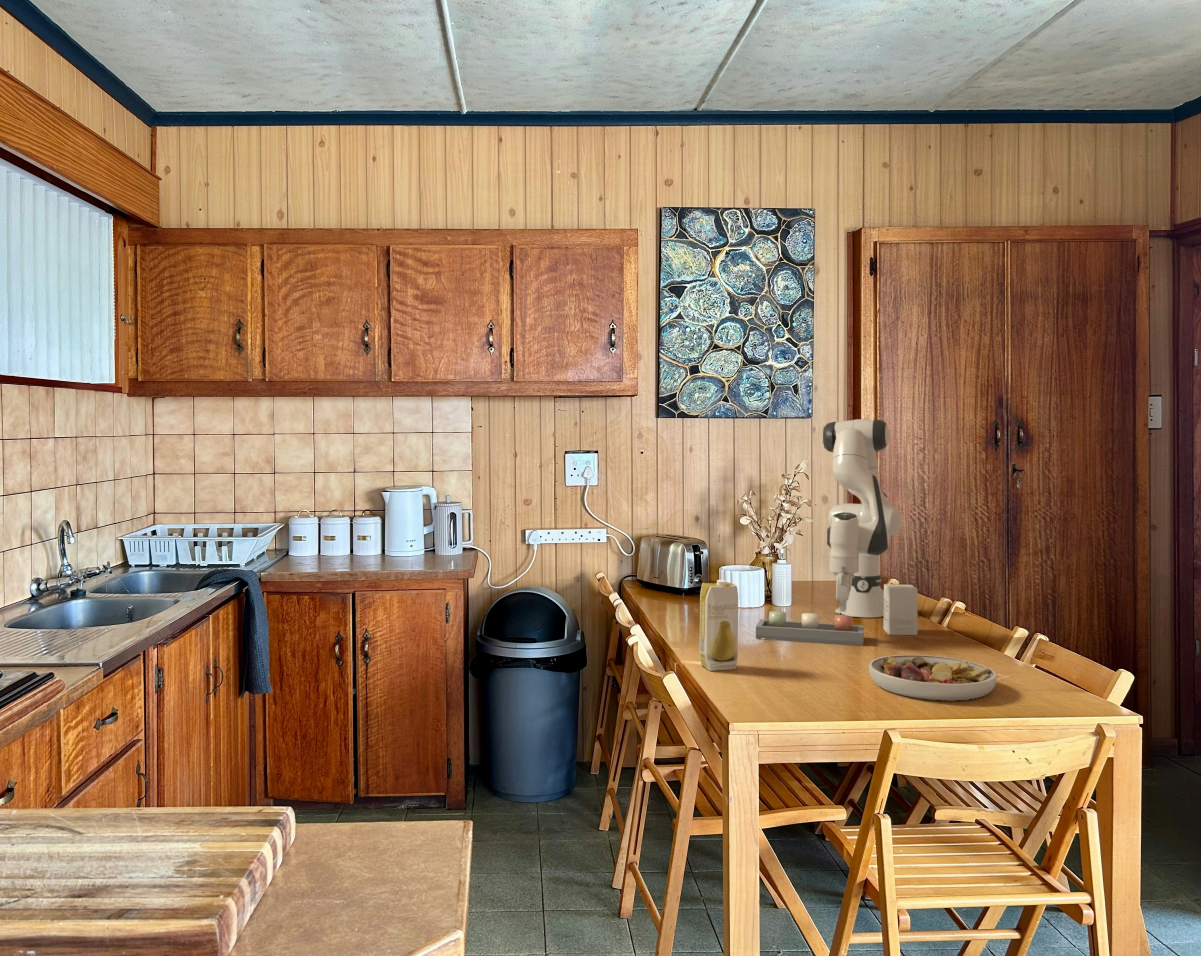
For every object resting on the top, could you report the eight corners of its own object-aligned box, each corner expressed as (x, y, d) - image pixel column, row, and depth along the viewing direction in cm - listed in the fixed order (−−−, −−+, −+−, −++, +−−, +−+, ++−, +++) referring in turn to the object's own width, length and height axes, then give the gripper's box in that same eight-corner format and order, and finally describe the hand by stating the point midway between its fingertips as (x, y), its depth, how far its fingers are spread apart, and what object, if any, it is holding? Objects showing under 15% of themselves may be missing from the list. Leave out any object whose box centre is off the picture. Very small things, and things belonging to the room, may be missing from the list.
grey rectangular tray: (760, 631, 301) (760, 619, 301) (863, 637, 292) (863, 625, 292) (755, 638, 290) (755, 626, 290) (863, 645, 281) (863, 633, 281)
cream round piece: (802, 625, 294) (802, 612, 294) (819, 626, 293) (819, 613, 293) (800, 628, 289) (801, 615, 289) (818, 629, 288) (818, 616, 288)
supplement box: (911, 629, 305) (912, 584, 304) (917, 635, 296) (918, 588, 295) (882, 629, 306) (883, 583, 305) (888, 634, 297) (889, 587, 296)
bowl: (895, 667, 256) (896, 638, 256) (1011, 686, 237) (1012, 655, 237) (848, 689, 233) (849, 658, 232) (972, 712, 214) (973, 678, 213)
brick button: (835, 627, 291) (835, 614, 291) (852, 628, 290) (852, 615, 290) (834, 630, 286) (834, 617, 286) (851, 631, 285) (852, 618, 285)
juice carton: (707, 672, 248) (708, 582, 247) (696, 665, 256) (697, 577, 254) (740, 670, 250) (741, 581, 249) (728, 663, 258) (729, 576, 257)
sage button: (770, 623, 297) (770, 610, 297) (786, 624, 296) (786, 611, 295) (768, 626, 292) (768, 613, 292) (785, 627, 291) (785, 614, 290)
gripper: (853, 570, 276) (852, 617, 277) (855, 562, 296) (854, 606, 296) (831, 569, 278) (830, 615, 279) (834, 561, 298) (834, 605, 298)
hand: (843, 610), depth 288 cm, fingers closed
